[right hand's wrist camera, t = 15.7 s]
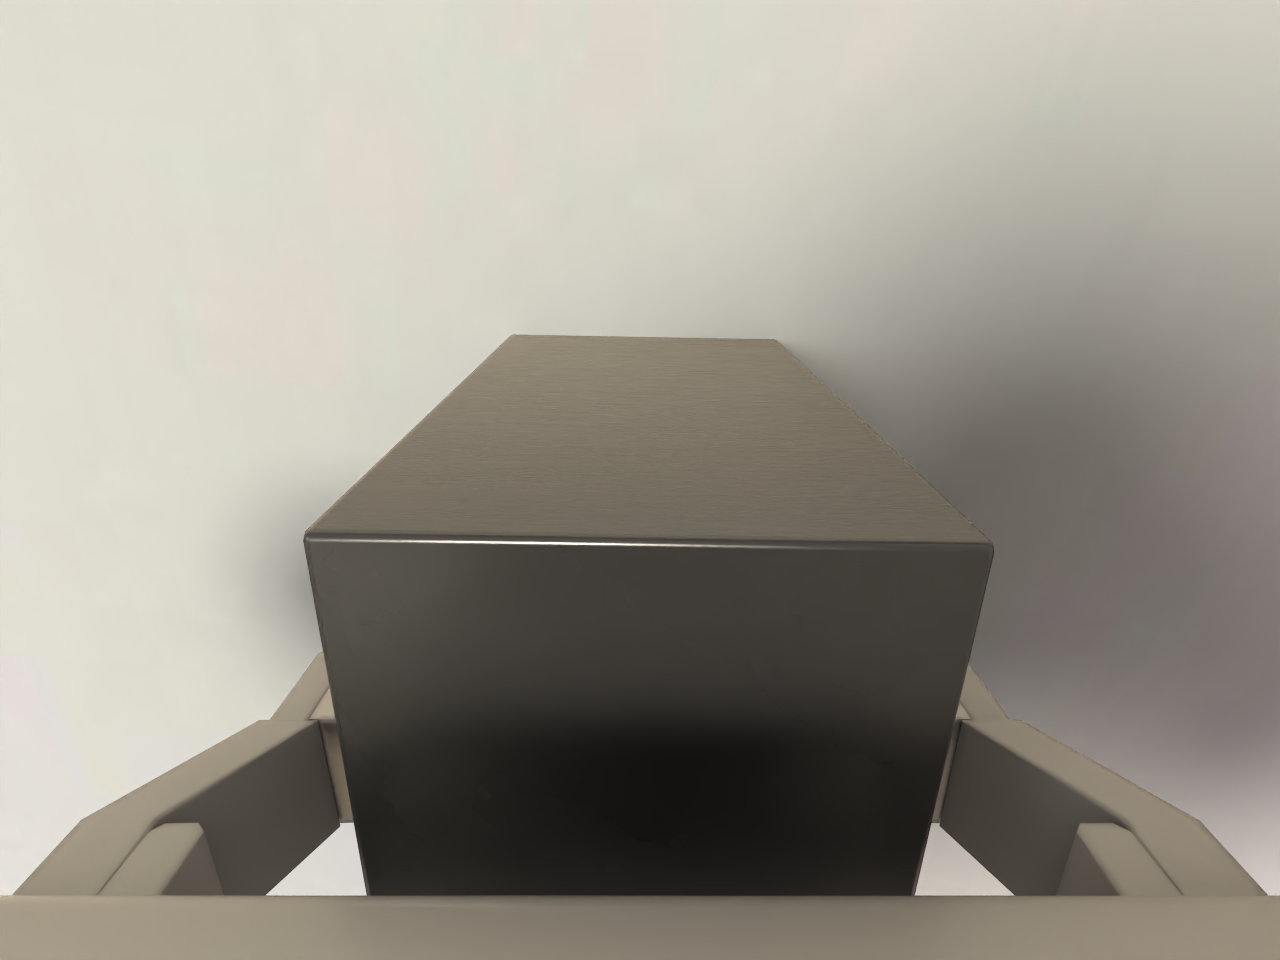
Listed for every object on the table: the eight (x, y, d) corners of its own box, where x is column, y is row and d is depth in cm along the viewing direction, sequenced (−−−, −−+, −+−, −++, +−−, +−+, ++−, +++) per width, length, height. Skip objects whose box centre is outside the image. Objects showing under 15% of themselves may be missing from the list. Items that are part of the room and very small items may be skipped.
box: (510, 333, 15) (296, 532, 6) (776, 338, 15) (999, 543, 6) (542, 977, 23) (475, 1511, 14) (718, 979, 23) (773, 1513, 14)
